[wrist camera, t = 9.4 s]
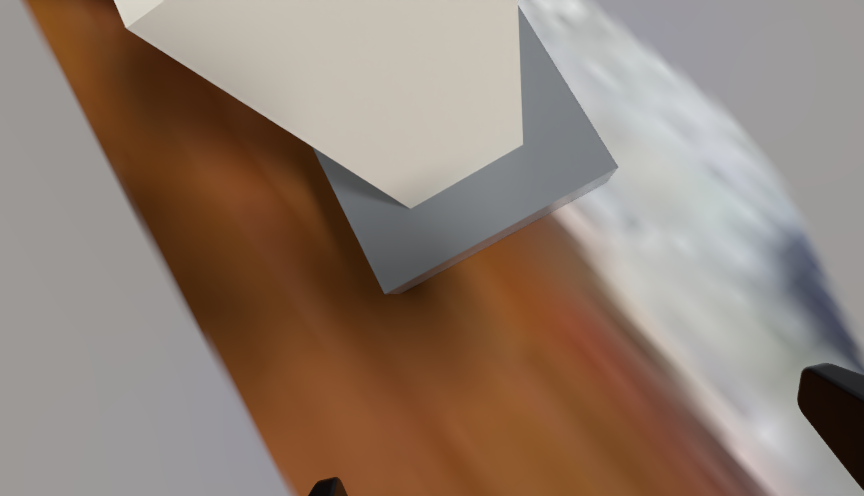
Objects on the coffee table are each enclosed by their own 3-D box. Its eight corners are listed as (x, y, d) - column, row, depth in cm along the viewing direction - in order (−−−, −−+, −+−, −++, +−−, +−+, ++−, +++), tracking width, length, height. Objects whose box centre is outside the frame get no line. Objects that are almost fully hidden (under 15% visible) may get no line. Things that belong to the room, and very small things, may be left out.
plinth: (606, 182, 19) (618, 167, 16) (401, 293, 20) (384, 294, 18) (492, -5, 20) (487, -44, 18) (310, 110, 22) (283, 88, 20)
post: (523, 144, 17) (508, -247, 5) (410, 209, 18) (126, 29, 5) (462, 39, 18) (304, -539, 5) (356, 105, 19) (-2, -267, 6)
